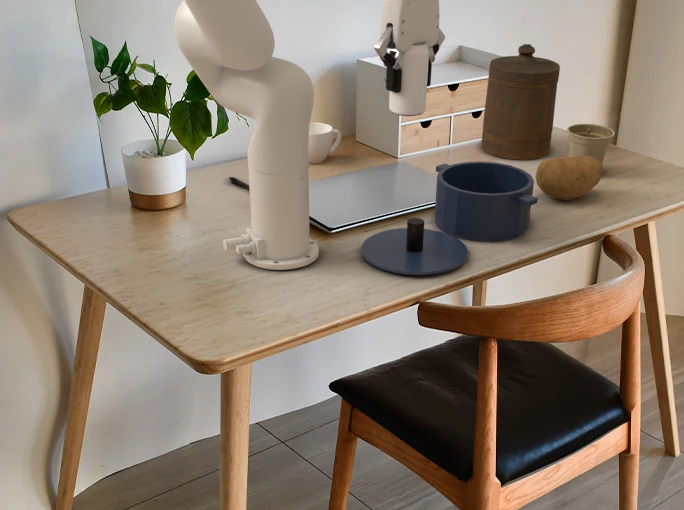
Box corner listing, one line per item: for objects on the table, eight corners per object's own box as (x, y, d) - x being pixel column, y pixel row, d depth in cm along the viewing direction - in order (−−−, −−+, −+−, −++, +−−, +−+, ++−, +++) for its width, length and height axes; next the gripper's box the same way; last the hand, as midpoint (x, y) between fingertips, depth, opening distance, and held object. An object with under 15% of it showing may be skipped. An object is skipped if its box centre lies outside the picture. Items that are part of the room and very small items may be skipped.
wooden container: (559, 145, 204) (572, 42, 192) (534, 164, 193) (547, 56, 181) (497, 134, 210) (506, 33, 198) (470, 152, 199) (478, 47, 187)
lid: (412, 288, 143) (414, 253, 140) (339, 251, 155) (339, 217, 151) (489, 258, 153) (492, 224, 150) (415, 225, 165) (417, 193, 161)
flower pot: (614, 170, 191) (621, 128, 186) (598, 183, 184) (605, 140, 179) (571, 161, 195) (577, 120, 190) (554, 173, 188) (560, 132, 184)
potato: (612, 200, 176) (619, 160, 172) (550, 211, 171) (556, 170, 167) (582, 183, 184) (587, 144, 179) (522, 193, 179) (526, 153, 174)
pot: (495, 255, 154) (500, 207, 150) (405, 215, 168) (407, 170, 164) (558, 230, 164) (565, 184, 159) (468, 194, 178) (471, 151, 173)
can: (405, 104, 167) (409, 35, 160) (432, 112, 163) (437, 41, 156) (381, 111, 163) (383, 40, 156) (408, 119, 159) (412, 46, 152)
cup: (290, 156, 195) (289, 125, 191) (332, 150, 199) (332, 119, 195) (305, 168, 189) (304, 135, 185) (348, 161, 193) (349, 129, 189)
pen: (225, 181, 182) (225, 176, 182) (232, 180, 183) (232, 174, 183) (265, 202, 173) (265, 197, 173) (272, 200, 174) (272, 195, 173)
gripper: (434, -30, 158) (427, 76, 168) (359, -22, 148) (356, 91, 158) (466, -25, 154) (458, 84, 163) (391, -15, 144) (386, 100, 153)
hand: (408, 87), depth 160 cm, fingers closed on can, 6 cm apart
